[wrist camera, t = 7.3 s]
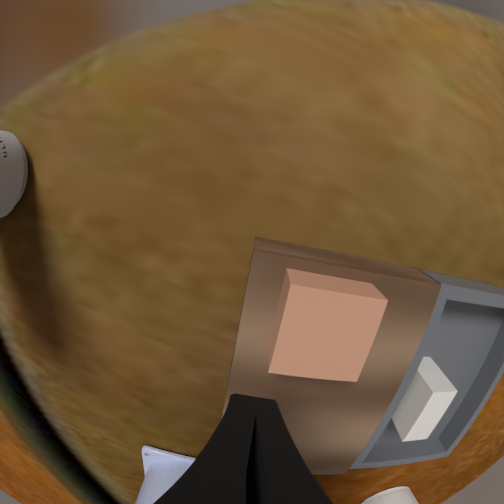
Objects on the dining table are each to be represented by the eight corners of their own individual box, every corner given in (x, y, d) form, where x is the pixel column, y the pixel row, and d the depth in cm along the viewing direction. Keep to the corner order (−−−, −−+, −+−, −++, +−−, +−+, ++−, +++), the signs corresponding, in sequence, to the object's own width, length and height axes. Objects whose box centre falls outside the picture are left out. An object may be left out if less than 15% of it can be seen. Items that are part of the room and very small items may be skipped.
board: (338, 446, 19) (345, 474, 16) (218, 435, 19) (212, 464, 16) (415, 268, 16) (441, 285, 13) (255, 236, 15) (253, 250, 13)
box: (438, 438, 19) (447, 456, 17) (342, 446, 19) (347, 469, 17) (514, 290, 16) (534, 301, 13) (419, 269, 16) (441, 283, 13)
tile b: (346, 357, 14) (356, 381, 12) (267, 347, 14) (268, 372, 12) (372, 283, 13) (388, 300, 11) (286, 268, 13) (290, 284, 11)
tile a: (384, 402, 17) (406, 402, 17) (402, 441, 13) (426, 438, 13) (407, 355, 16) (430, 356, 16) (433, 392, 12) (457, 391, 12)
